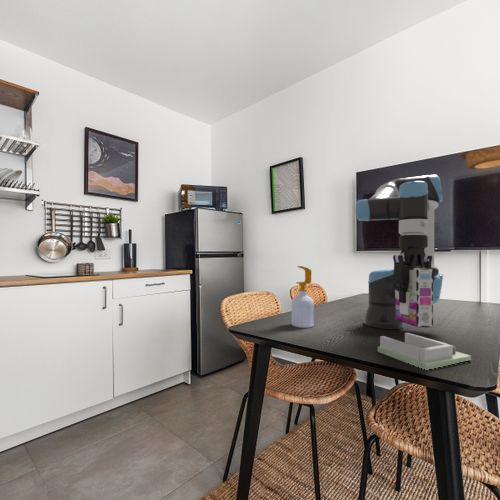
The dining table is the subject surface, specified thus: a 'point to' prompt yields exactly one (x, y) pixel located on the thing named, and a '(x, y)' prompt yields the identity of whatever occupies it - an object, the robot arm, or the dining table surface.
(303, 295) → the soap bottle
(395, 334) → the dining table surface
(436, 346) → the white open tray
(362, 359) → the dining table surface
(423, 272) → the candy bar box
